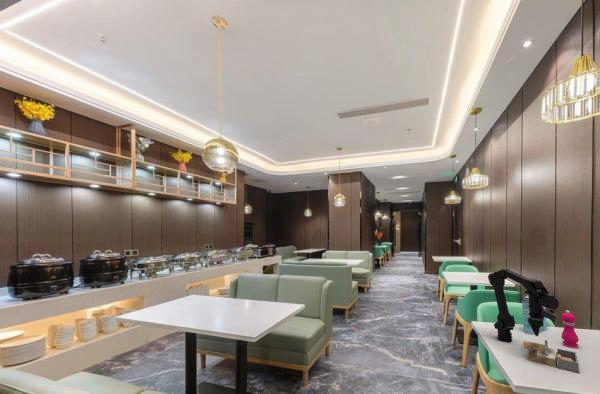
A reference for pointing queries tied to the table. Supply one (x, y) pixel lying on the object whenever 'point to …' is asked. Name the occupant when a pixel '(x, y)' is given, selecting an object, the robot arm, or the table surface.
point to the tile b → (566, 358)
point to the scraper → (536, 346)
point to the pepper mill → (569, 330)
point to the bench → (542, 357)
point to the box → (565, 363)
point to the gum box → (525, 311)
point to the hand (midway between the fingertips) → (537, 333)
